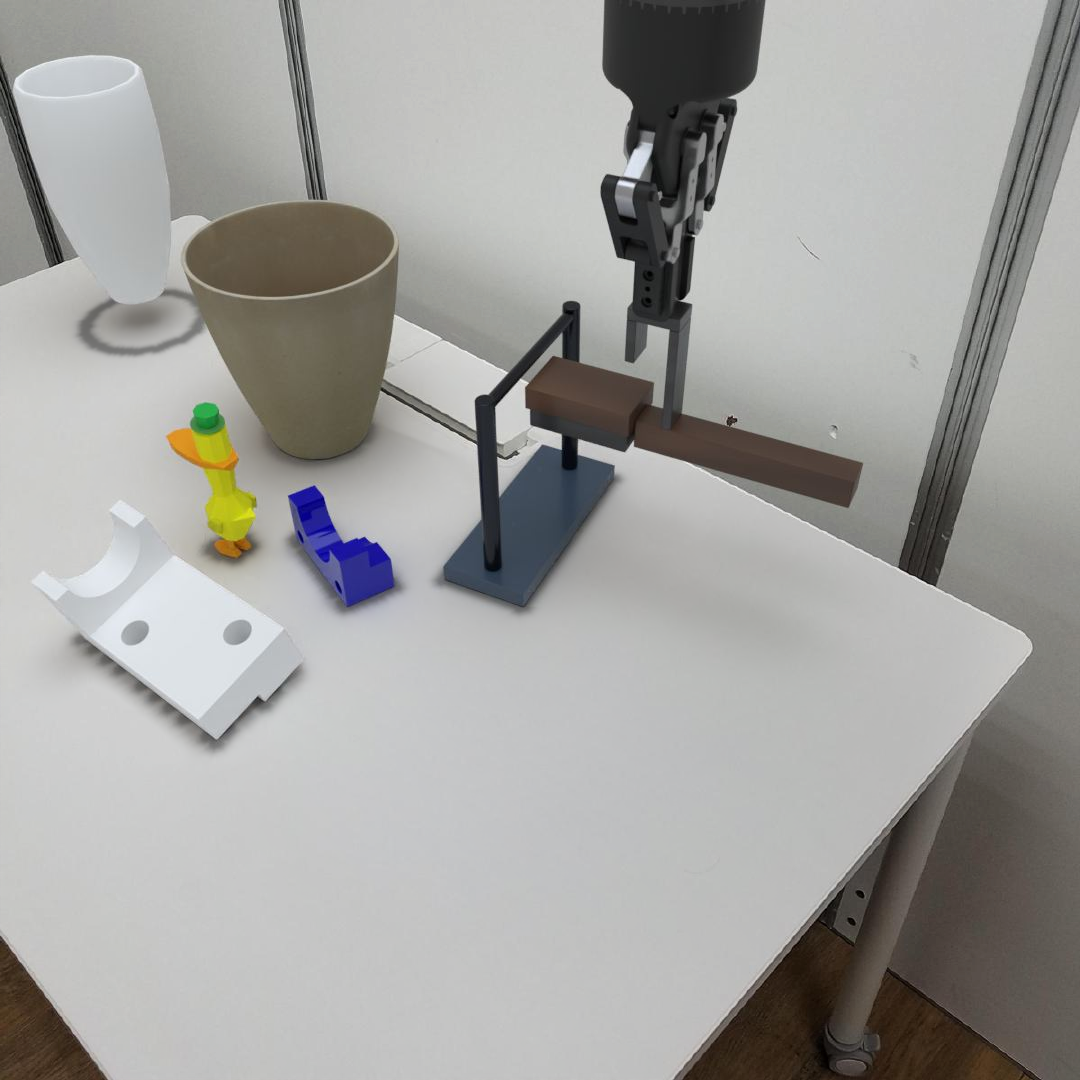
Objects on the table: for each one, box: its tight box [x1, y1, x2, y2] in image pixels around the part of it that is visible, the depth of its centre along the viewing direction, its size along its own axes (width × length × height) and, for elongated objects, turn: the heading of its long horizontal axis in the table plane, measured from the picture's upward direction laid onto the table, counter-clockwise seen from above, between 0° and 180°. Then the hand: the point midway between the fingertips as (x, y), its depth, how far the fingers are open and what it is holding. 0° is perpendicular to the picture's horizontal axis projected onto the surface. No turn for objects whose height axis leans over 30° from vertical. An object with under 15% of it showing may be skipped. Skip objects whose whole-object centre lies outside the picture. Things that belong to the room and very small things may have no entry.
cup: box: [12, 54, 172, 305], centre depth 93 cm, size 10×10×22 cm
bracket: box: [30, 499, 306, 741], centre depth 67 cm, size 13×7×8 cm, turn 51°
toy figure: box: [165, 401, 258, 559], centre depth 74 cm, size 7×4×12 cm, turn 57°
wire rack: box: [442, 300, 616, 607], centre depth 74 cm, size 6×15×15 cm, turn 154°
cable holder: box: [287, 484, 395, 608], centre depth 75 cm, size 8×4×4 cm, turn 33°
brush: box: [524, 220, 864, 509], centre depth 64 cm, size 4×20×15 cm, turn 64°
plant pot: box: [180, 199, 400, 460], centre depth 82 cm, size 15×15×16 cm
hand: (661, 304), depth 63 cm, fingers closed on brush, 2 cm apart
